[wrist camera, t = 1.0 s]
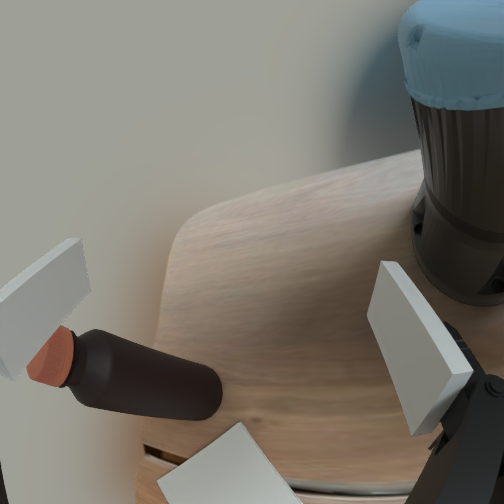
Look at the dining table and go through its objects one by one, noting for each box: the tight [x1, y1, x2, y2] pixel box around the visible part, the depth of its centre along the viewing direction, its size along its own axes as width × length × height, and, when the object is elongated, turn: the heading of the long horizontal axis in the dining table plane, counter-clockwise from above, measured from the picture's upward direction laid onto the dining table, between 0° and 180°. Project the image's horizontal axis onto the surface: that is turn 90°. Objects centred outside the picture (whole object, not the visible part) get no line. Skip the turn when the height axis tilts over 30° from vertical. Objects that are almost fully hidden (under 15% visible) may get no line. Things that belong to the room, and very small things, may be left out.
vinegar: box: [26, 325, 223, 421], centre depth 25 cm, size 7×7×20 cm
